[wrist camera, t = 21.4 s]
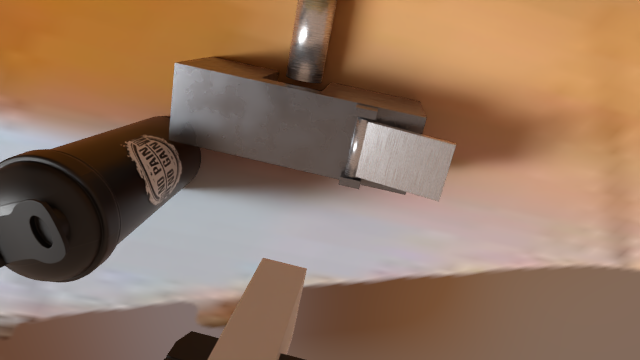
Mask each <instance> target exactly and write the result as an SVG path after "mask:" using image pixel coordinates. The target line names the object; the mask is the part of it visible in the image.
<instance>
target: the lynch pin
mask: <svg viewBox="0 0 640 360" xmlns="http://www.w3.org/2000/svg"><path fill="white" fill-rule="evenodd" d="M336 3H337V0H298V5H297V11H296V17H295V23H294V29H293V36H292V42H291V48H290V54H289V60H288V66H287V73H286V76H287V77H289V78H291V79H295V80H299V81H303V82H309V83H321V82H322V77H323V72H324V67H325V62H326V56H327V51H328V46H329V40H330V35H331V30H332V25H333V19H334V14H335V9H336Z"/></svg>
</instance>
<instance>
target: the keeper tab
mask: <svg viewBox="0 0 640 360" xmlns="http://www.w3.org/2000/svg"><path fill="white" fill-rule="evenodd" d="M456 144H457V143H454V142H450V141H446V140H442V139H438V138H435V137H431V136H427V135H423V134H419V133H416V132H412V131H408V130H404V129H400V128H397V127H393V126H389V125H385V124H382V123H378V122H374V121H372V120H371V119H368V118H364V117H357V121H356V125H355V130H354V134H353V139H352V143H351V148H350V152H349V156H348V161H347V165H346V170H345V175H347V176H349V177H353V178H357V177H359V178H362V179H365V180H369V181H372V182H375V183H379V184H382V185H385V186H389V187H392V188H395V189H399V190H402V191H405V192H409V193H412V194H415V195H419V196H422V197H425V198H429V199H432V200H435V201H439V199H440V196H441V193H442V190H443V186H444V183H445V180H446V177H447V173H448V170H449V167H450V164H451V160H452V157H453V154H454V151H455V147H456Z"/></svg>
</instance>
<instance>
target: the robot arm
mask: <svg viewBox="0 0 640 360" xmlns="http://www.w3.org/2000/svg"><path fill="white" fill-rule="evenodd" d="M306 270H307V269H306V268H302V267H298V266H294V265H290V264H286V263H282V262H278V261H274V260H270V259H266V258H263V259H262V261H261V262H260V264H259V266H258V268H257V270H256V272H255V273H254V275H253V277H252V279H251V281H250V283H249V284H248V286H247V288H246V290H245V292H244V294H243V295H242V297H241V299H240V301H239V303H238V305H237V306H236V308H235V310H234V312H233V314H232V316H231V317H230V319H229V321H228V323H227V325H226V327H225V328H224V330H223V332H222V334H221V336H220V338H215V337H212V336H208V335H204V334H200V333H197V332H193V331H191V332H190V333H188V334H187V335H185V336H184V337H183V338H181V339H179V340H178V341H177V342H176V343H175V344H174V346H173V347H172V349H171V350H170V352H169V353H168V355H167V357H166V359H164V360H304V359H301V358H297V357H293V356H289V355H287V352H288V349H289V346H290V342H291V339H292V336H293V331H294V327H295V322H296V317H297V312H298V308H299V303H300V298H301V294H302V289H303V284H304V279H305V275H306Z"/></svg>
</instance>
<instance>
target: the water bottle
mask: <svg viewBox="0 0 640 360" xmlns="http://www.w3.org/2000/svg"><path fill="white" fill-rule="evenodd" d="M169 127H170V118H169V117H163V116H158V117H152V118H149V119H145V120H142V121H139V122H136V123H133V124H130V125H126V126H123V127H120V128H117V129H114V130H110V131H107V132H104V133H101V134H98V135H94V136H91V137H88V138H85V139H82V140H79V141H75V142H72V143H69V144H66V145H63V146H59V147H56V148H53V149H44V150H33V151H28V152H25V153H22V154H19V155H16V156H13V157H11V158H8V159H6V160H4V161H2V162H0V268H1V267H3V266H6V267H8V268H9V269H11V270H12V271H14V272H16V273H18V274H20V275H22V276H25V277H27V278H30V279H34V280H39V281H50V282H70V281H74V280H77V279H80V278H82V277H84V276H86V275H88V274H89V273H91V272H92V271H93V270H95V269H96V268H97V267H98V266H100V265H101V264H102V263H103V262H104V261H105V260H107V258H108V257H109V256H110V255H111V253H112V252H113V250H114V249H115V247H116V245H117V244H119V243H120V242H121V241H122V240H123V239H124V238H126V237H127V236H128V235H129V234H130V233H131V232H132V231H134V230H135V229H136V228H137V227H138V226H139V225H140V224H142V223H143V222H144V221H145V220H146V219H147V218H149V217H150V216H151V215H152V214H153V213H154V212H155V211H157V210H158V209H159V208H160V207H161V206H162V205H164V204H165V203H166V202H167V201H168V200H169V199H170V198H172V197H173V196H174V195H175V194H176V193H177V192H179V191H180V190H181V189H182V188H183V187H184V186H185V185H187V184H188V183H189V182H190V181H191V180H192V179H193V178H194V177H195V175H196V174H197V172H198V170H199V167H200V162H201V153H200V148H199V147H197V146H193V145H188V144H184V143H180V142H175V141H171V140H168V139H169Z"/></svg>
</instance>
